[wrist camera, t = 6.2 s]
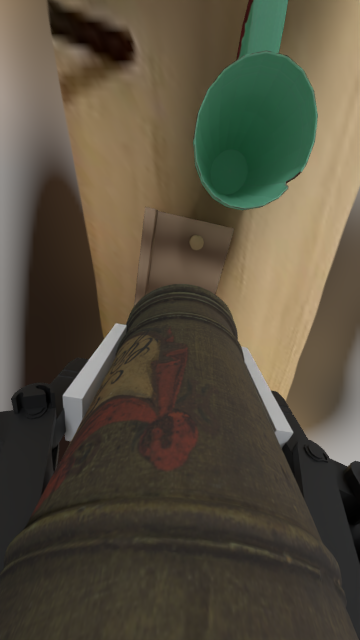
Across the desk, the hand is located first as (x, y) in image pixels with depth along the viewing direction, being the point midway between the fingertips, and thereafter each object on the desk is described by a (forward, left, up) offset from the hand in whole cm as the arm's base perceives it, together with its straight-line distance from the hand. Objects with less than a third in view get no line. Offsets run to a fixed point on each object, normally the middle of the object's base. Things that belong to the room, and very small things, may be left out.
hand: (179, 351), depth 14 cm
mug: (-18, +2, -19) cm, 26 cm away
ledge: (0, -1, -18) cm, 18 cm away
